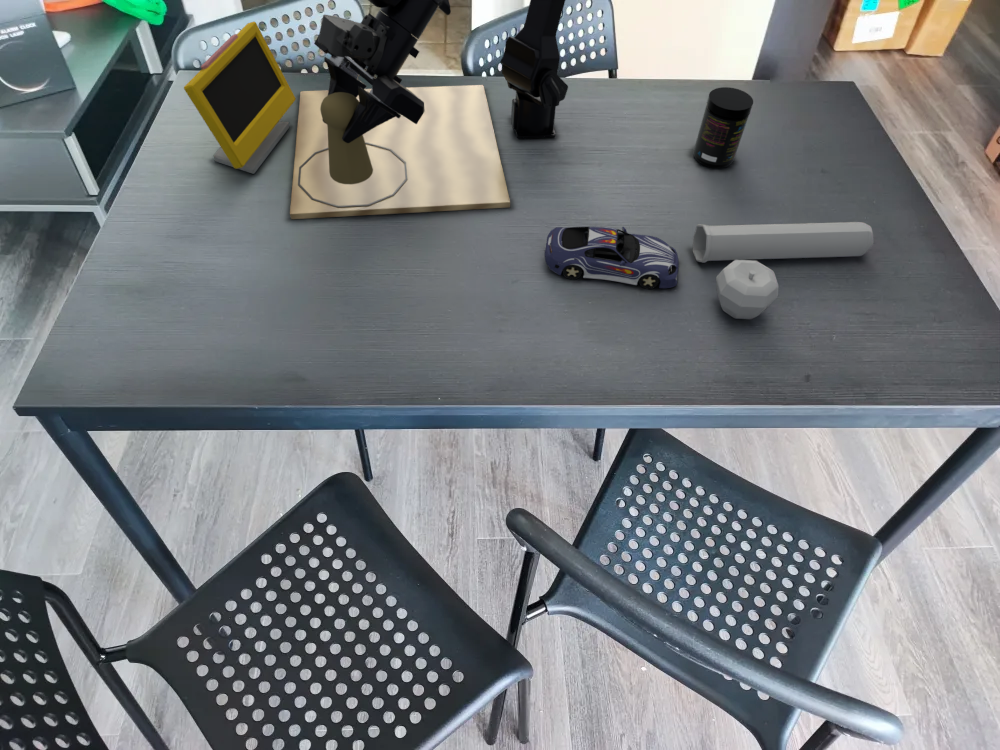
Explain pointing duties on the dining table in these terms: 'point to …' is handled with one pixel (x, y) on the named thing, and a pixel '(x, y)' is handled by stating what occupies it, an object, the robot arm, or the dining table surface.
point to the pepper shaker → (344, 158)
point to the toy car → (611, 256)
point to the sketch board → (405, 160)
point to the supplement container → (722, 127)
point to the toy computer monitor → (242, 99)
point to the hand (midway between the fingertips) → (334, 132)
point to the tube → (781, 241)
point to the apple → (746, 288)
